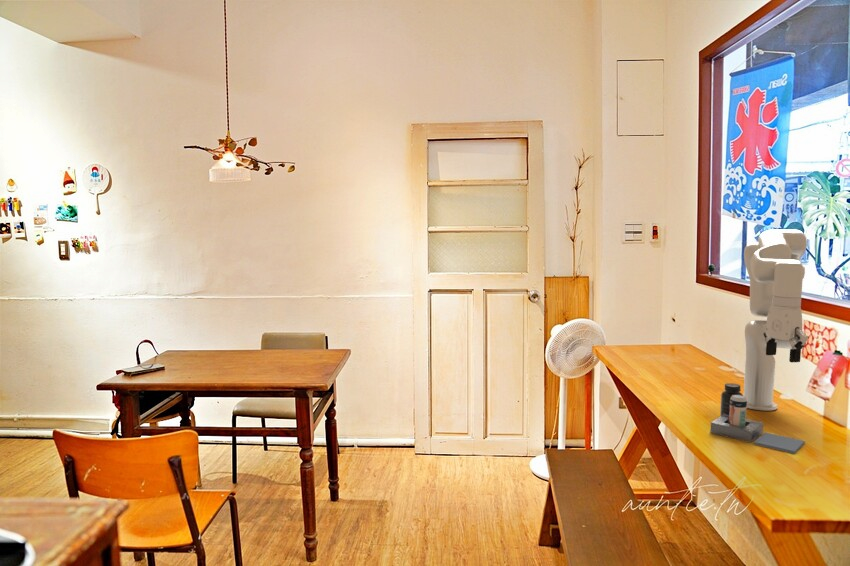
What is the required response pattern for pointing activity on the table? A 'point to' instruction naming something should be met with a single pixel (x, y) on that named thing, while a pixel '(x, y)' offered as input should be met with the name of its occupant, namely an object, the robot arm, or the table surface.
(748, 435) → the gray square frame
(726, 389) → the supplement bottle
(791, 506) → the table surface
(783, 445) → the mat
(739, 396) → the beer can
